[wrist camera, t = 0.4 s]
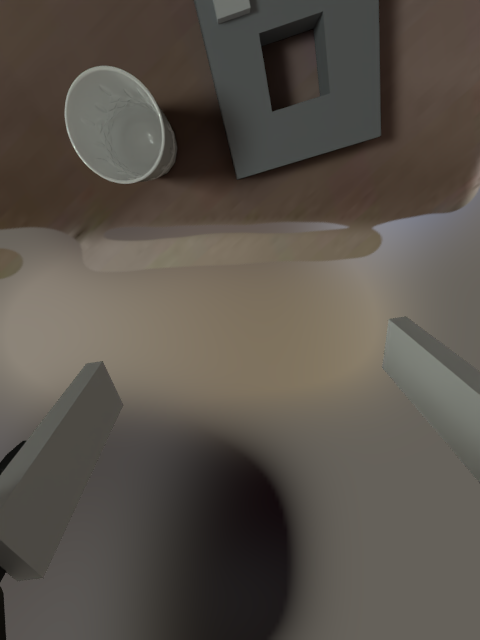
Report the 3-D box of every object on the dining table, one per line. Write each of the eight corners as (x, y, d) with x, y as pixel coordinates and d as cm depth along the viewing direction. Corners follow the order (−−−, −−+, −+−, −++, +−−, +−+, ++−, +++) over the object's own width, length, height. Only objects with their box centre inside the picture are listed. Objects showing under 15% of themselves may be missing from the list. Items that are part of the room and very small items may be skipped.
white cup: (161, 88, 28) (131, 44, 19) (194, 167, 32) (181, 160, 23) (98, 122, 29) (42, 94, 20) (136, 194, 33) (103, 198, 24)
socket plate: (192, -4, 25) (187, -33, 22) (360, -65, 24) (382, -105, 21) (236, 179, 32) (238, 179, 29) (367, 140, 31) (384, 134, 28)
